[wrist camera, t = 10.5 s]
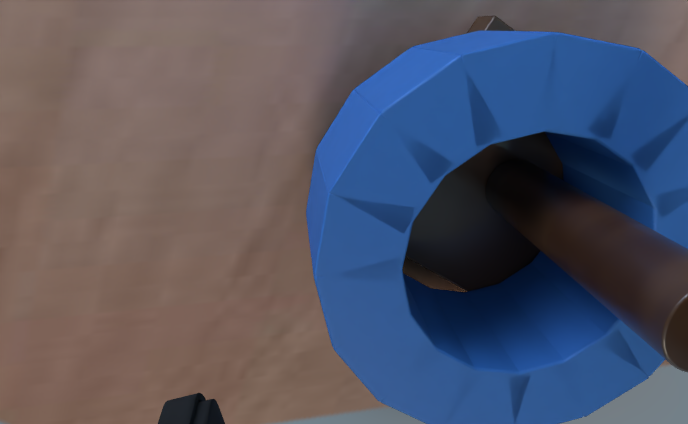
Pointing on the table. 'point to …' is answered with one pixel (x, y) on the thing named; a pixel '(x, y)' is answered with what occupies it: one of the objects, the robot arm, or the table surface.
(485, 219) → the stand
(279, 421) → the table surface
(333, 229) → the tape roll
